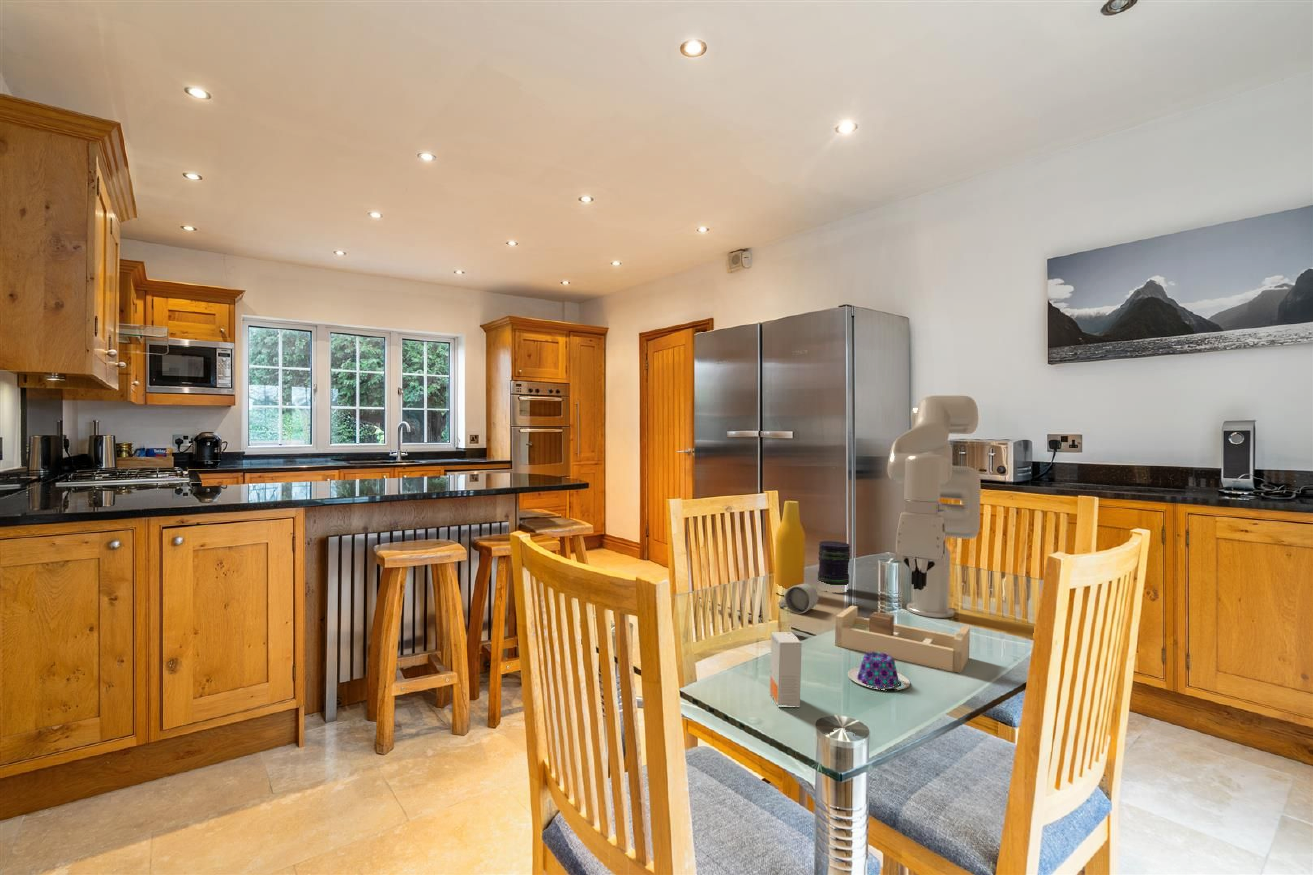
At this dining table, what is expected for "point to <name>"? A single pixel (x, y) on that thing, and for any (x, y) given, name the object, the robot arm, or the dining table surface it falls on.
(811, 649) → the dining table surface
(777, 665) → the skincare box
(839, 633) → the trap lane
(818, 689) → the dining table surface
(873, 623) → the walnut block
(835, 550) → the storage jar
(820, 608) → the dining table surface
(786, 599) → the ceramic mug
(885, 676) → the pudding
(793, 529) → the beer bottle
